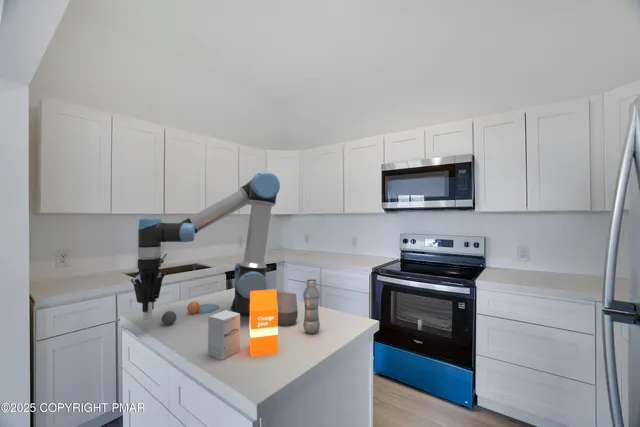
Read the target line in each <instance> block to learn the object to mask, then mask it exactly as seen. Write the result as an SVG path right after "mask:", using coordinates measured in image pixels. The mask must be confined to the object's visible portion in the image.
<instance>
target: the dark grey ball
mask: <svg viewBox="0 0 640 427" xmlns="http://www.w3.org/2000/svg"><path fill="white" fill-rule="evenodd" d="M177 318H178V317H177V313H176V312H175V311H173V310H168V311H166V312H164V313H163V314H162V316H161V323H162V324H163V325H165V326H170V325H173V324H174V323H175V322H176V320H177Z"/></svg>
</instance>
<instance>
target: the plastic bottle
mask: <svg viewBox="0 0 640 427" xmlns="http://www.w3.org/2000/svg"><path fill="white" fill-rule="evenodd" d="M306 286H307V287H306V288H305V289H304V290H303V295H302V296H303V302H304V319H303V324H302V325H303V330H304V332H305V333H307V334H316V333H318V332H319V330H320V327H321V326H320V325H321V323H320V318H319V317H320V316H319V303H320V291H319V289H318V288H317V280H316V279H307V280H306Z"/></svg>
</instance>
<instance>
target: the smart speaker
mask: <svg viewBox="0 0 640 427" xmlns="http://www.w3.org/2000/svg"><path fill="white" fill-rule="evenodd" d="M276 294H277V307H278V325H281V326H285V327H286V326H292V325H294V324H295V323H296V322H297V320H298V316H299V315H298V314H299V312H298V302H297V293H295V292H290V291H282V290H276Z"/></svg>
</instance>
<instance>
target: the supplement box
mask: <svg viewBox="0 0 640 427" xmlns="http://www.w3.org/2000/svg"><path fill="white" fill-rule="evenodd" d="M207 317H208V319H207V320H208V322H207V323H208V325H207V354H208V355H209V356H210V357H213V358H216V359H219V360H221V361H224V360H225V359H226V358H228V357H231V356H232V355H234V354H236V353H238V352H240V350H241V349H240V348H241V316H240V314H239V313H236V312H232V311H231V310H226V309H225V310H223V311H220V312H218V313H214V314H211V315H209V316H207Z"/></svg>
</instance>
